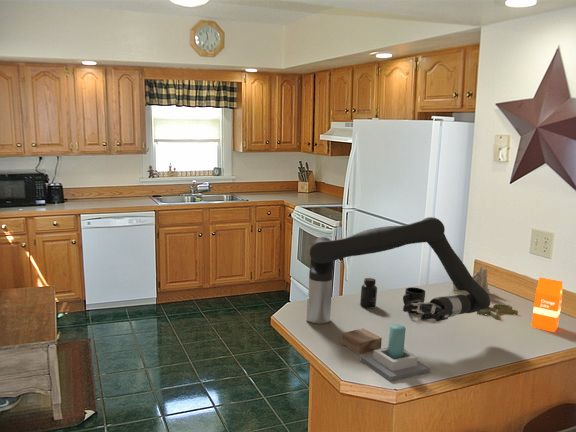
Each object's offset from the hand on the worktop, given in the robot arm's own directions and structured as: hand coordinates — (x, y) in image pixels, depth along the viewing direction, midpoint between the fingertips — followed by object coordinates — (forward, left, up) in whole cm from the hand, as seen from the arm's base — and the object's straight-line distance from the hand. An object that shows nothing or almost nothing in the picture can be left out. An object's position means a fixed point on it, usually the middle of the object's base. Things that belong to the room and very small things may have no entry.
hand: (412, 312), depth 189 cm
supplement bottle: (-13, +48, -15) cm, 52 cm away
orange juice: (+58, +40, -15) cm, 72 cm away
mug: (+5, +44, -15) cm, 47 cm away
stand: (-17, +4, -15) cm, 23 cm away
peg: (-6, -10, -14) cm, 18 cm away
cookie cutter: (+42, +53, -16) cm, 69 cm away
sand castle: (+36, +80, -16) cm, 89 cm away
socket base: (-6, -11, -15) cm, 19 cm away
